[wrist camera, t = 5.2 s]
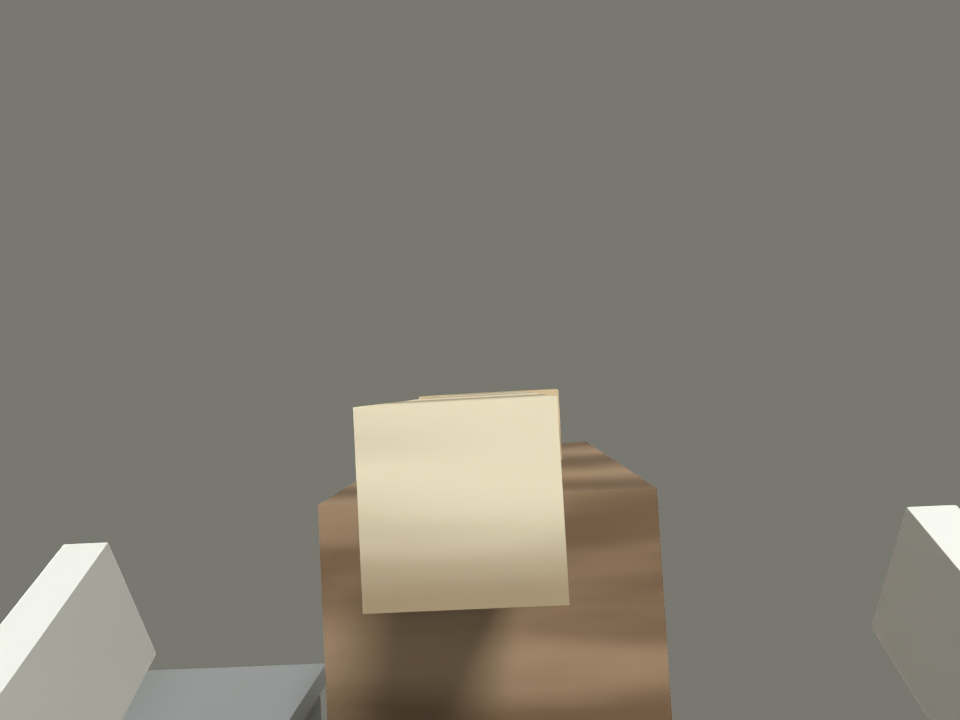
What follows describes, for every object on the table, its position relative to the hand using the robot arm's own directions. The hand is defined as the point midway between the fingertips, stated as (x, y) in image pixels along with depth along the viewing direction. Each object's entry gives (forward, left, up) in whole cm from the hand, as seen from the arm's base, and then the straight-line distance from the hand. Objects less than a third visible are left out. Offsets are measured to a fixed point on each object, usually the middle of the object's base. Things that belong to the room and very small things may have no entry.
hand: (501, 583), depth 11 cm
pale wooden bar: (-4, +10, 0) cm, 11 cm away
